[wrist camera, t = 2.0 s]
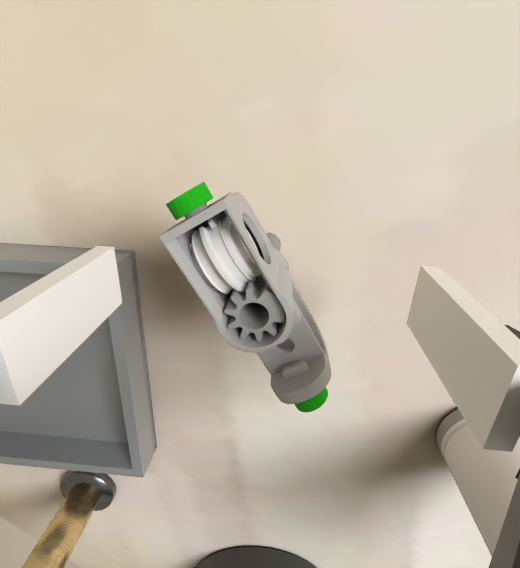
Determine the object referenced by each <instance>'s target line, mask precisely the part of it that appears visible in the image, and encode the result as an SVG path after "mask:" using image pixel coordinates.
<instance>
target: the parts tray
mask: <svg viewBox="0 0 520 568" xmlns="http://www.w3.org/2000/svg"><path fill="white" fill-rule="evenodd" d="M89 250H91V249H90V248H73V247H56V246H39V245H23V244H6V243H0V302H1V301H3V300H4V299H6V298H8V297H10V296H12V295H14V294H15V293H17V292H19V291H20V290H22V289H24V288H26V287H27V286H29V285H31V284H32V283H34V282H36V281H38V280H39V279H41V278H43V277H45V276H46V275H48V274H50V273H51V272H53V271H55V270H57V269H58V268H60V267H62V266H63V265H65V264H67V263H69V262H70V261H72V260H74V259H75V258H77V257H79V256H81V255H82V254H84V253H86V252H88V251H89ZM115 257H116V263H117V270H118V277H119V283H120V290H121V297H122V304H121V305H120V306H119V307H118V308H117V309H116V310H115V311H114V312H113V313H112V314H111V315H110V316H109V317H108V318H107V319H106V320H105V321H104V322H103V323H102V324H101V325H100V326H99V327H98V328H97V329H96V330H95V331H94V332H93V333H92V334H91V335H90V336H89V337H88V338H87V339H86V340H85V341H84V342H83V343H82V344H81V345H80V346H79V347H78V348H77V349H76V350H75V351H74V352H73V353H72V354H71V355H70V356H69V357H68V358H67V359H66V360H65V361H64V362H63V363H62V364H61V365H60V366H59V367H58V368H57V369H56V370H55V371H54V372H53V373H52V374H51V375H50V376H49V377H48V378H47V379H46V380H45V381H44V382H43V383H42V384H41V385H40V386H39V387H38V388H37V389H36V390H35V391H34V392H33V393H32V394H31V395H30V396H29V397H28V398H27V399H26V400H25V401H24V402H23V403H22V404H21V405H20V406H19V405H8V404H0V463H4V464H14V465H24V466H34V467H44V468H54V469H64V470H74V471H84V472H94V473H104V474H114V475H124V476H134V477H144V474H145V472H146V470H147V468H148V465H149V463H150V461H151V458H152V456H153V454H154V451H155V449H156V447H157V445H156V436H155V428H154V419H153V410H152V402H151V393H150V384H149V376H148V367H147V358H146V349H145V341H144V332H143V323H142V315H141V306H140V297H139V289H138V280H137V271H136V262H135V254H134V251H123V250H115Z"/></svg>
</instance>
